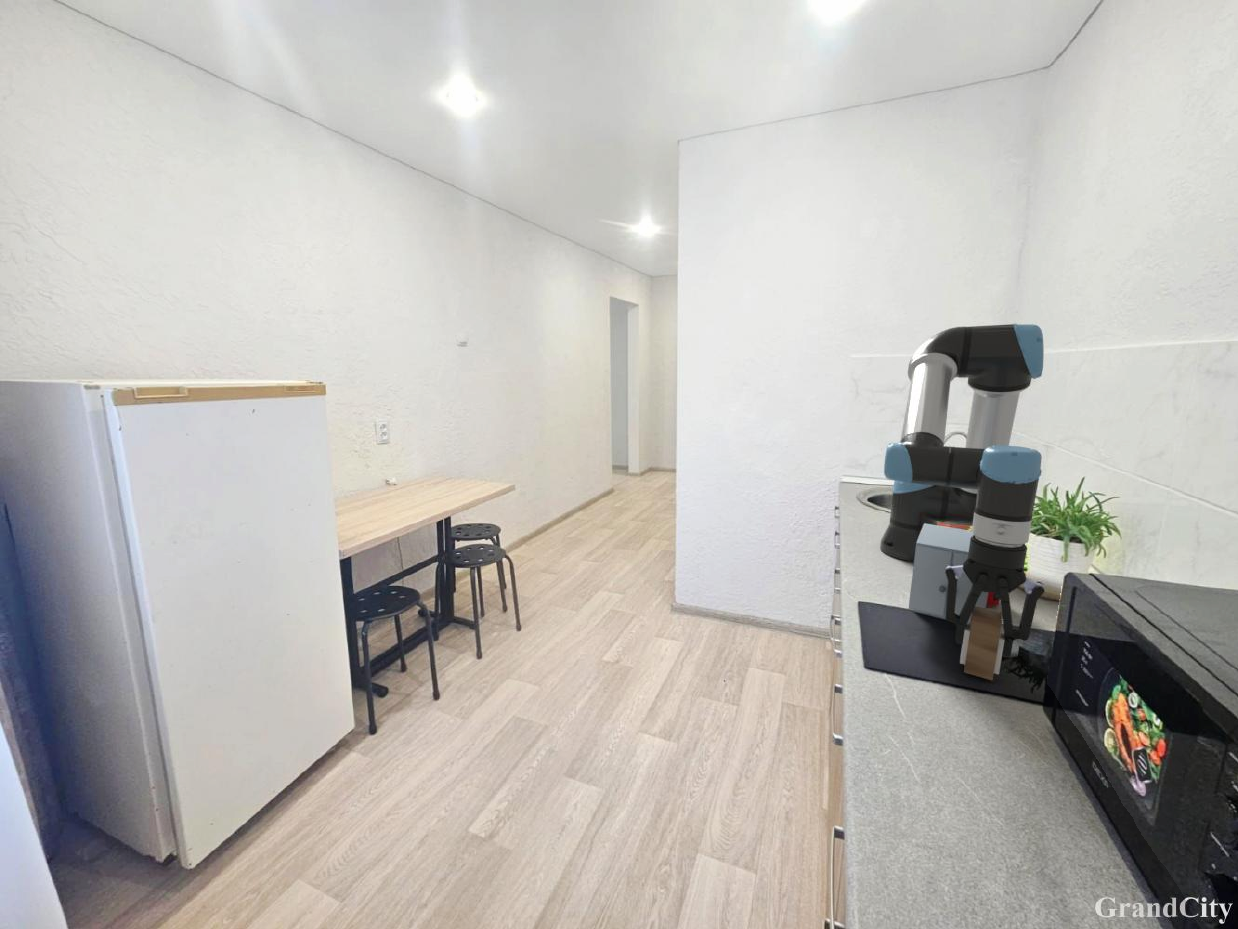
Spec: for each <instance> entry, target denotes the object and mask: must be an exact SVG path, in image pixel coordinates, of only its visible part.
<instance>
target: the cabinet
mask: <svg viewBox="0 0 1238 929" xmlns="http://www.w3.org/2000/svg"><path fill="white" fill-rule="evenodd" d="M972 536H974V535H973V534H972V530H969V529H968V530H967V529H962V528H957V527H949V526H944V525H938V524H937V525H932V524H926V523H924V525H923V527H922V530H921V532H920V535H919V537H918V540H917V542H916V550H915V558H914V561H913V566H912V567H913V570H912V577H911V585H910V586H911V587H910V594H909V602H908V609H909V610H912V612H914V613H917V614H918V613H919V614H923V615H926V616H931V617H934V618H937V619H938V618H939V619H942V620H946V607H947V595H948V584H949V581H948V579H947V576H946V573H945V571H946V566H947V565H949V564H951V565H953V566H960V565H963V564H964V562H965V561H966V560H967V558H968V552H969V545H970V538H971V537H972ZM972 585H973V584H972V582H971V581H970V580H969V578H968V577H967V575H966V574H965V572H963V573H962V574H961V578H960V579H958V581H957V592H956V603H955V614H957V615H960V613H961V610H962V608H963V606H964V604H965V601H966V599H967V597H968V595H969V592H970V590H971V588H972ZM987 597H988V592H982V593H981V595H980V597H979V598H978V600H977V603H976V605H975V606H976V607H981V608H985V609H987V607H986V604H987ZM971 616H972V614H971ZM971 616H970V618H969V620H968V622H967V624H970V623H971ZM946 621H947V620H946Z"/></svg>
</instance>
